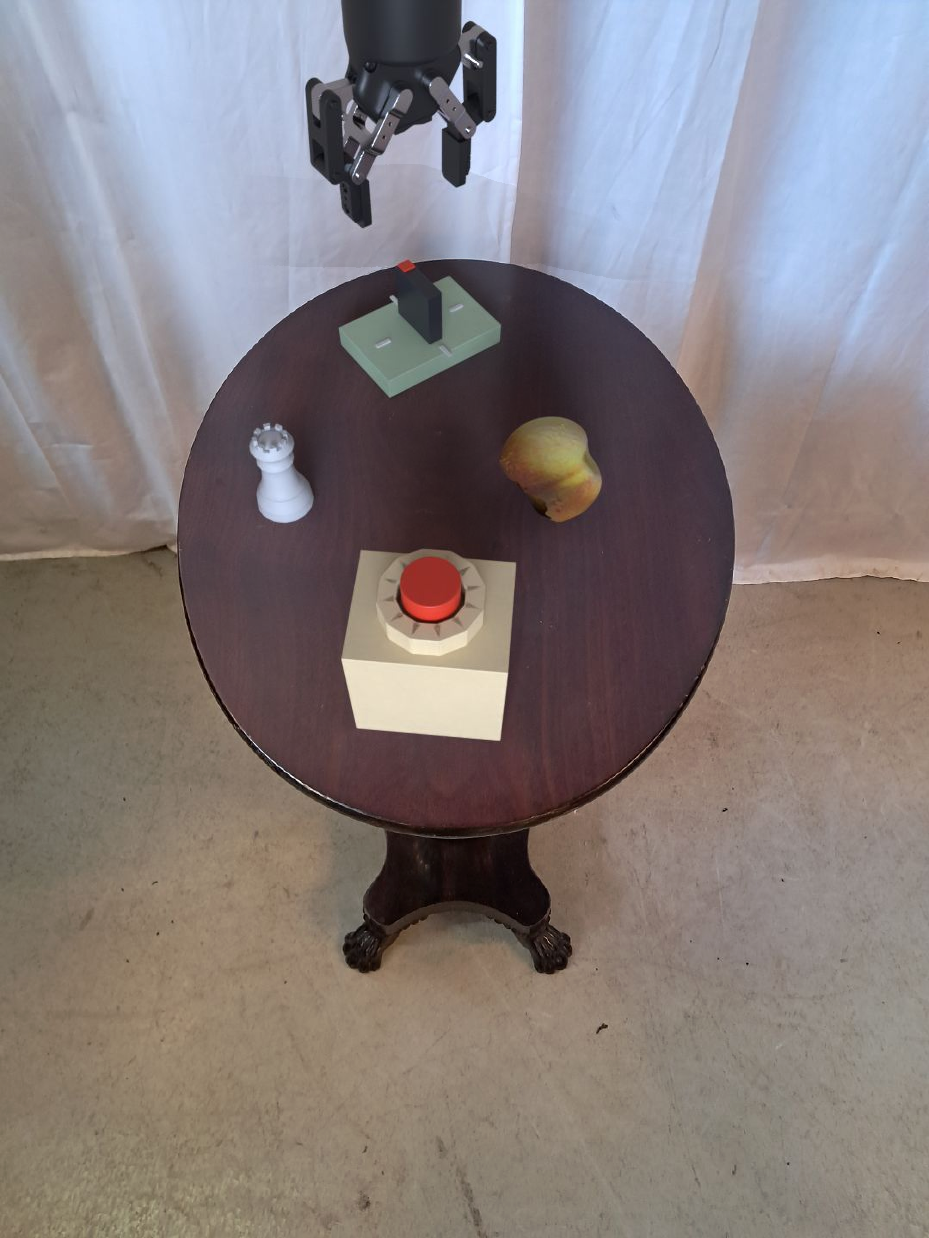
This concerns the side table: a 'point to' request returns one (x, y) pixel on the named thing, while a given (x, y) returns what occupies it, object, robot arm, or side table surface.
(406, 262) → the black box
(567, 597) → the side table surface
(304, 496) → the rook chess piece
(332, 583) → the side table surface
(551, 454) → the fruit
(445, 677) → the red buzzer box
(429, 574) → the red push button
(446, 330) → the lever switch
